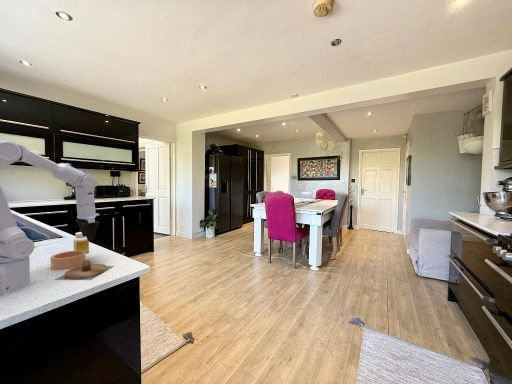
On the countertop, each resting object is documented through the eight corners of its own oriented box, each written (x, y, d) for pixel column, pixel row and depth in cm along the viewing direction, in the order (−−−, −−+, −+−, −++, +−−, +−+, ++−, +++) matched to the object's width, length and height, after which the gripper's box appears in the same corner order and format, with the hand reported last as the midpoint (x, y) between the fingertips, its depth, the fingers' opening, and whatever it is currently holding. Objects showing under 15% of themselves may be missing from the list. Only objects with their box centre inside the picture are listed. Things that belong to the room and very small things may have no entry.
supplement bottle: (92, 253, 102) (91, 231, 102) (79, 256, 97) (79, 234, 97) (83, 251, 104) (82, 231, 103) (70, 255, 98) (70, 233, 98)
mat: (91, 281, 73) (91, 279, 73) (54, 280, 73) (54, 279, 73) (114, 267, 85) (114, 266, 85) (82, 267, 85) (82, 265, 85)
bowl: (71, 271, 81) (71, 259, 81) (43, 271, 81) (43, 258, 81) (91, 261, 91) (91, 250, 91) (66, 261, 91) (66, 250, 91)
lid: (91, 279, 73) (91, 268, 73) (54, 279, 73) (54, 268, 73) (114, 266, 85) (114, 256, 85) (82, 265, 85) (82, 256, 85)
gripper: (103, 204, 86) (105, 239, 88) (93, 201, 96) (95, 232, 97) (80, 207, 81) (83, 243, 83) (72, 203, 91) (75, 235, 92)
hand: (88, 237), depth 90 cm, fingers open, 7 cm apart
